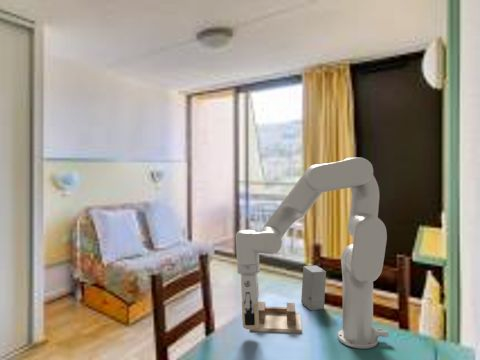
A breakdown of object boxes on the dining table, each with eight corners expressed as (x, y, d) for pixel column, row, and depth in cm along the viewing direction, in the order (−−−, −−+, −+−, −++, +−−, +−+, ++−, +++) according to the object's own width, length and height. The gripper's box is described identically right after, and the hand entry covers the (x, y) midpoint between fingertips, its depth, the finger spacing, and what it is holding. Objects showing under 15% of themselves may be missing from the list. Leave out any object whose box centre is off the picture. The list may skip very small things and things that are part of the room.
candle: (257, 330, 118) (256, 300, 117) (241, 329, 119) (240, 299, 118) (260, 322, 123) (259, 294, 123) (244, 322, 124) (243, 293, 124)
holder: (299, 315, 138) (299, 299, 138) (301, 333, 124) (301, 315, 124) (252, 314, 140) (252, 298, 140) (249, 330, 126) (249, 313, 126)
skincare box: (300, 303, 150) (300, 265, 149) (316, 301, 152) (316, 264, 151) (310, 311, 142) (310, 271, 141) (326, 308, 144) (326, 269, 143)
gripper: (257, 275, 111) (260, 332, 112) (261, 260, 128) (263, 310, 129) (233, 275, 112) (236, 332, 113) (240, 260, 129) (242, 310, 130)
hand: (250, 320), depth 121 cm, fingers closed on candle, 5 cm apart
